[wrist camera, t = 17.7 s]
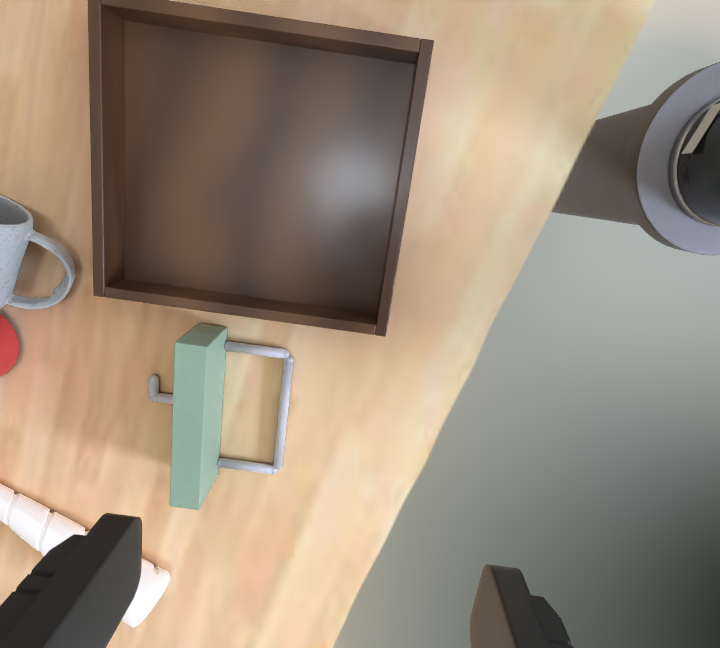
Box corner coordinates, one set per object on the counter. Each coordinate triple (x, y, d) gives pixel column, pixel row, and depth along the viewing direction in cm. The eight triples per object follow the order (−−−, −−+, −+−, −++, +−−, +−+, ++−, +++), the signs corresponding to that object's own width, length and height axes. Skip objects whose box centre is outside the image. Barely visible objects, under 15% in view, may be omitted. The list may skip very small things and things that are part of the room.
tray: (427, 55, 33) (433, 40, 30) (384, 323, 39) (385, 336, 35) (117, 8, 33) (86, -13, 29) (118, 285, 38) (93, 295, 35)
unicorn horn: (-44, 423, 42) (-95, 453, 37) (181, 566, 46) (159, 609, 41) (-67, 459, 43) (-119, 492, 38) (154, 596, 47) (131, 641, 42)
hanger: (296, 336, 39) (286, 357, 34) (281, 482, 43) (269, 519, 38) (152, 316, 39) (121, 334, 34) (149, 464, 43) (121, 500, 38)
